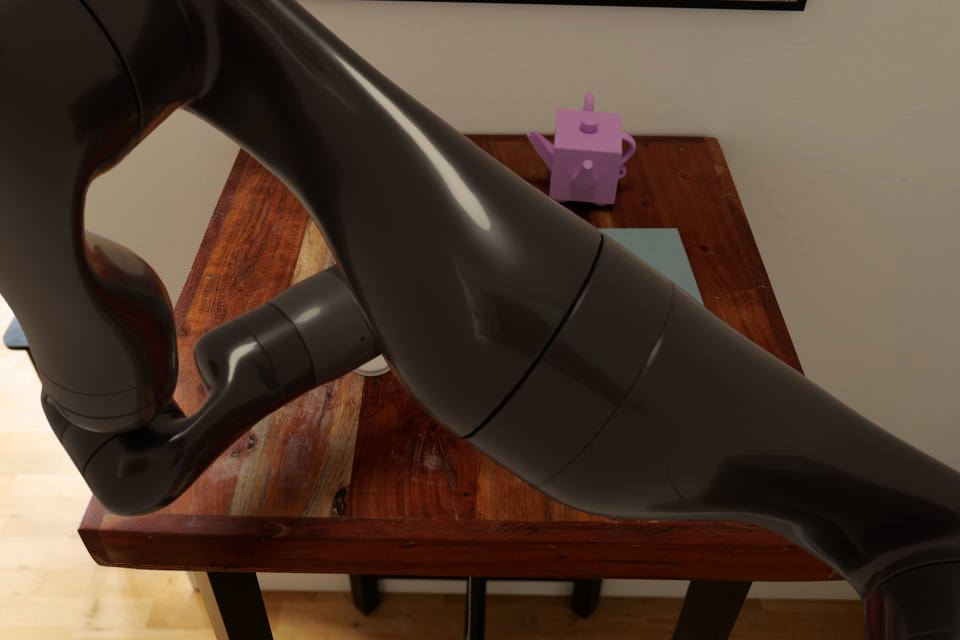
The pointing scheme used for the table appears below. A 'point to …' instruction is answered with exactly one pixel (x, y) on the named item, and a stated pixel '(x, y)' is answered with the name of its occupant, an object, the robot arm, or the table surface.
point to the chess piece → (373, 367)
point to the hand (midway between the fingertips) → (504, 231)
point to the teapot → (585, 154)
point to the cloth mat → (659, 253)
